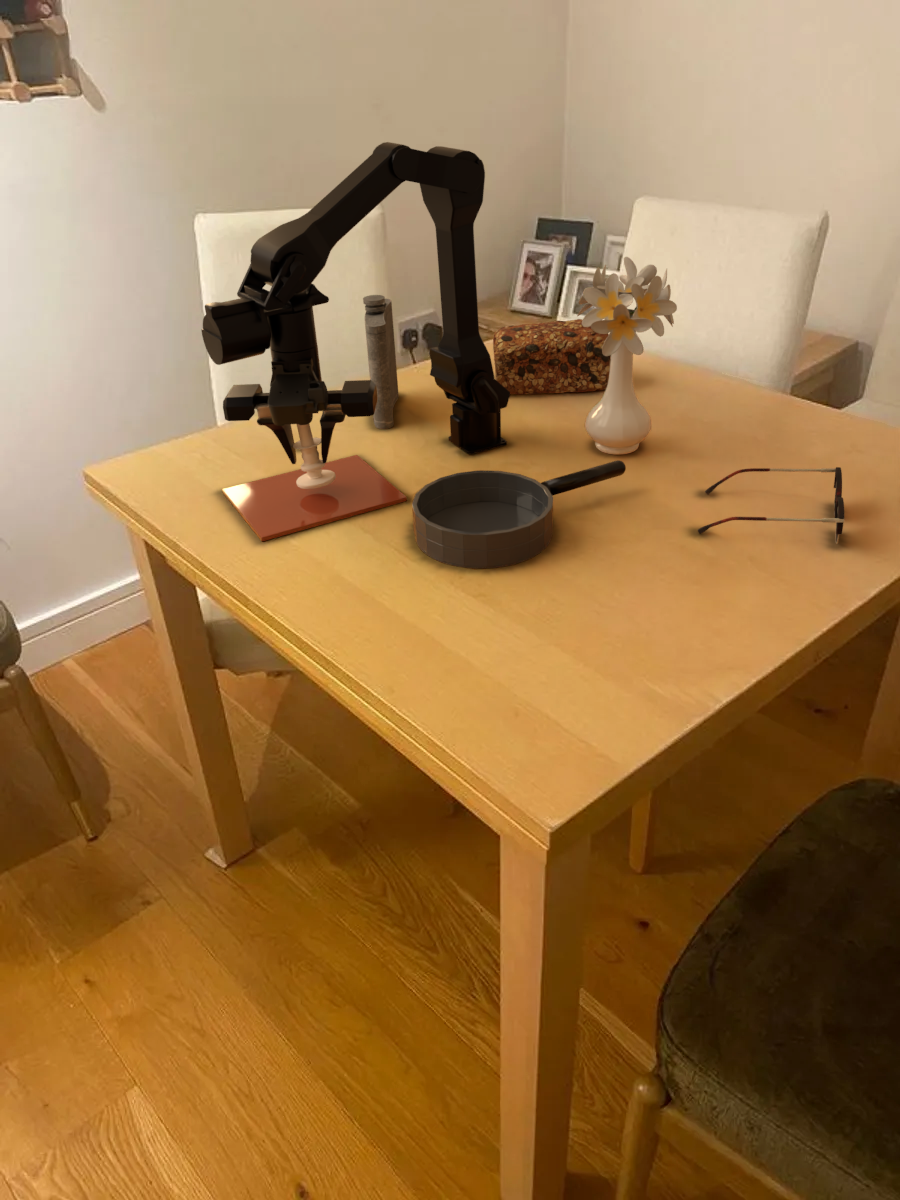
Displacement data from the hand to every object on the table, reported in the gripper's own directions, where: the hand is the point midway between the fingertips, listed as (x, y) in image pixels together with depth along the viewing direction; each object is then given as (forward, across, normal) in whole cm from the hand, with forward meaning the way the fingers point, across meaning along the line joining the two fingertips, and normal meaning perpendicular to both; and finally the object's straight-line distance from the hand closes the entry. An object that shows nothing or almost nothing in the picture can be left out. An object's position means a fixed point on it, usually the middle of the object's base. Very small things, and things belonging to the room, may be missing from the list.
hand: (309, 462), depth 127 cm
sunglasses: (+5, +57, -10) cm, 58 cm away
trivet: (+5, 0, 0) cm, 5 cm away
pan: (+5, +22, -11) cm, 26 cm away
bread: (+5, +34, +39) cm, 52 cm away
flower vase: (+5, +42, +13) cm, 44 cm away
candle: (+3, +1, 0) cm, 3 cm away
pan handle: (+3, +35, -4) cm, 35 cm away
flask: (+5, +7, +30) cm, 31 cm away
